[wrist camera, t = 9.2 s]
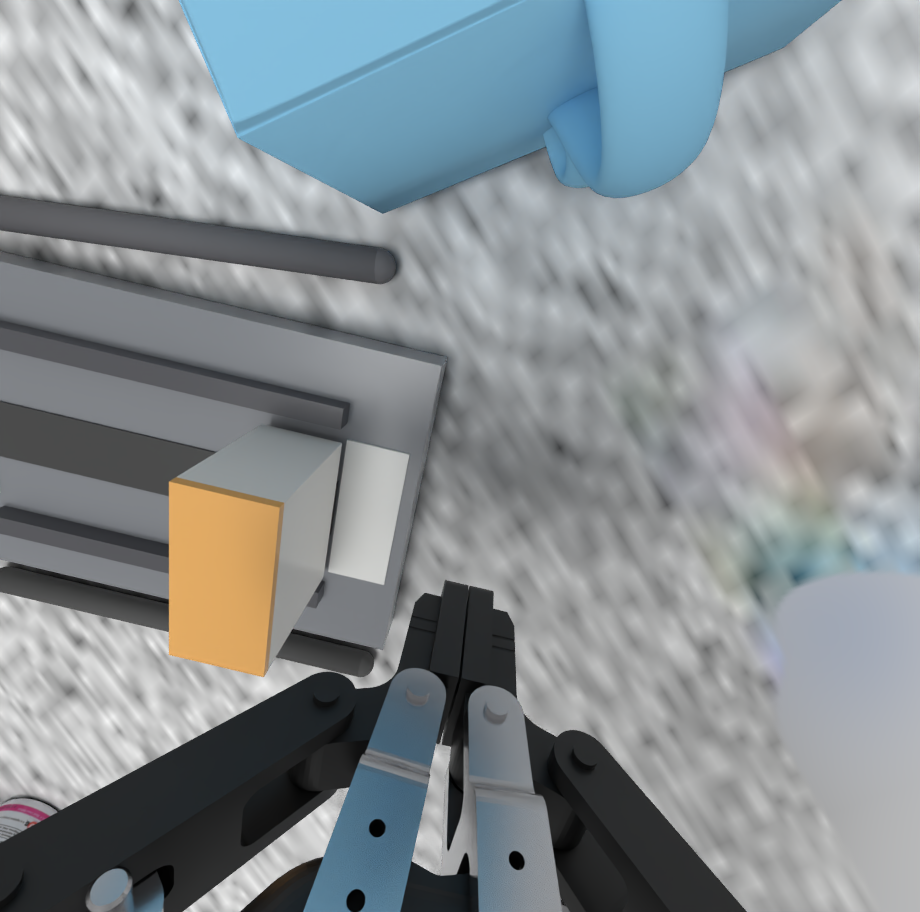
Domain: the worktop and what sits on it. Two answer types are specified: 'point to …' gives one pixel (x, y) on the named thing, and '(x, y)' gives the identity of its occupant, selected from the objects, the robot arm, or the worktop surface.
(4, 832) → the pill bottle
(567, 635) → the worktop surface
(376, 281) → the cord
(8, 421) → the panel
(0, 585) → the dark grey rod
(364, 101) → the teapot
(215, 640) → the grey orange rectangular block
